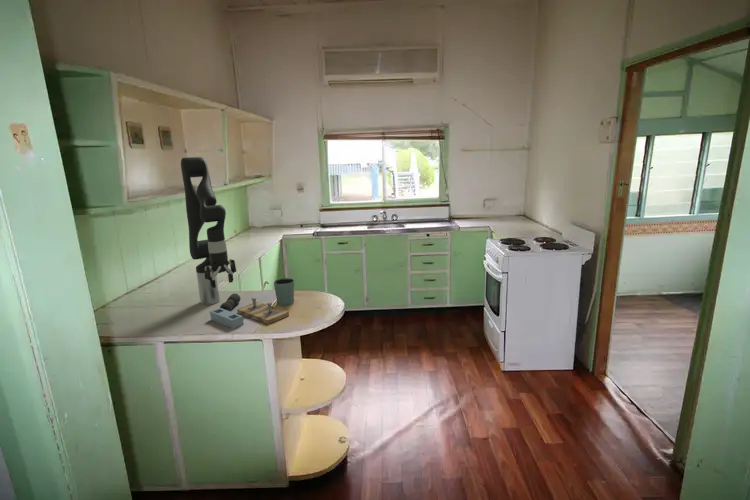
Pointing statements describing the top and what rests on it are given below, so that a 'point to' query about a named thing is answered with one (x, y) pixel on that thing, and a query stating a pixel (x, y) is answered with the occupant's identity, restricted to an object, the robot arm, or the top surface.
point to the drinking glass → (284, 291)
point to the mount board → (263, 312)
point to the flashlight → (231, 302)
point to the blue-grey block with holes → (226, 318)
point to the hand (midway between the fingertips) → (222, 284)
